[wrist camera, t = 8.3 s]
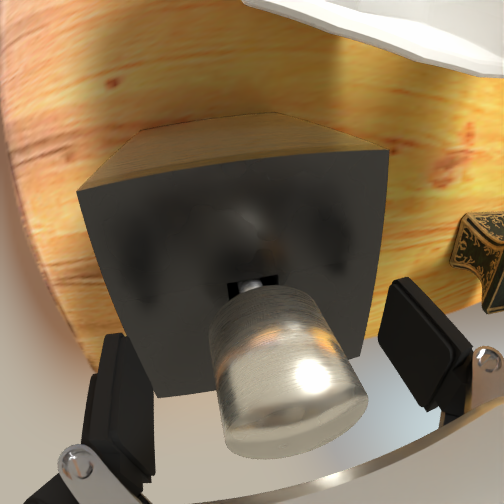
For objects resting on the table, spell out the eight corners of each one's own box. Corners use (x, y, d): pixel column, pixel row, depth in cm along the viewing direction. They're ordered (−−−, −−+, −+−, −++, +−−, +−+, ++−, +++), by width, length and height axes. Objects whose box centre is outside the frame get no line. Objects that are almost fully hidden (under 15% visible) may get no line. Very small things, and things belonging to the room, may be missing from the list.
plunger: (152, 142, 22) (53, 342, 5) (268, 126, 23) (484, 255, 6) (172, 245, 27) (179, 495, 9) (274, 229, 28) (396, 440, 10)
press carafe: (140, 130, 23) (76, 191, 9) (275, 112, 24) (389, 149, 10) (169, 272, 29) (170, 421, 16) (282, 253, 31) (352, 382, 17)
